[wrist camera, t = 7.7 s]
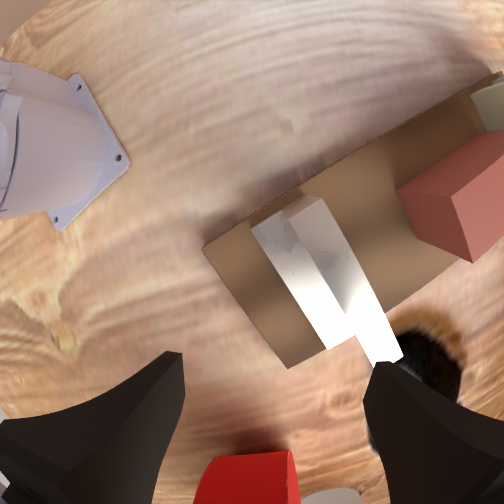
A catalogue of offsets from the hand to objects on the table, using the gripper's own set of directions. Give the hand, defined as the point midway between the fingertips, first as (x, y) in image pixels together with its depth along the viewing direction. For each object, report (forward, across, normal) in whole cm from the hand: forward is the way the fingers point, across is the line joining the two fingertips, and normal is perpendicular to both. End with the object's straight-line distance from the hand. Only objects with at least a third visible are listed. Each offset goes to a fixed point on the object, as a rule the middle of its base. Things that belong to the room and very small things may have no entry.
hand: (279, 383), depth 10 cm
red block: (+8, -12, -8) cm, 17 cm away
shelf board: (+9, -10, -7) cm, 15 cm away
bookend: (+8, -3, -2) cm, 9 cm away
